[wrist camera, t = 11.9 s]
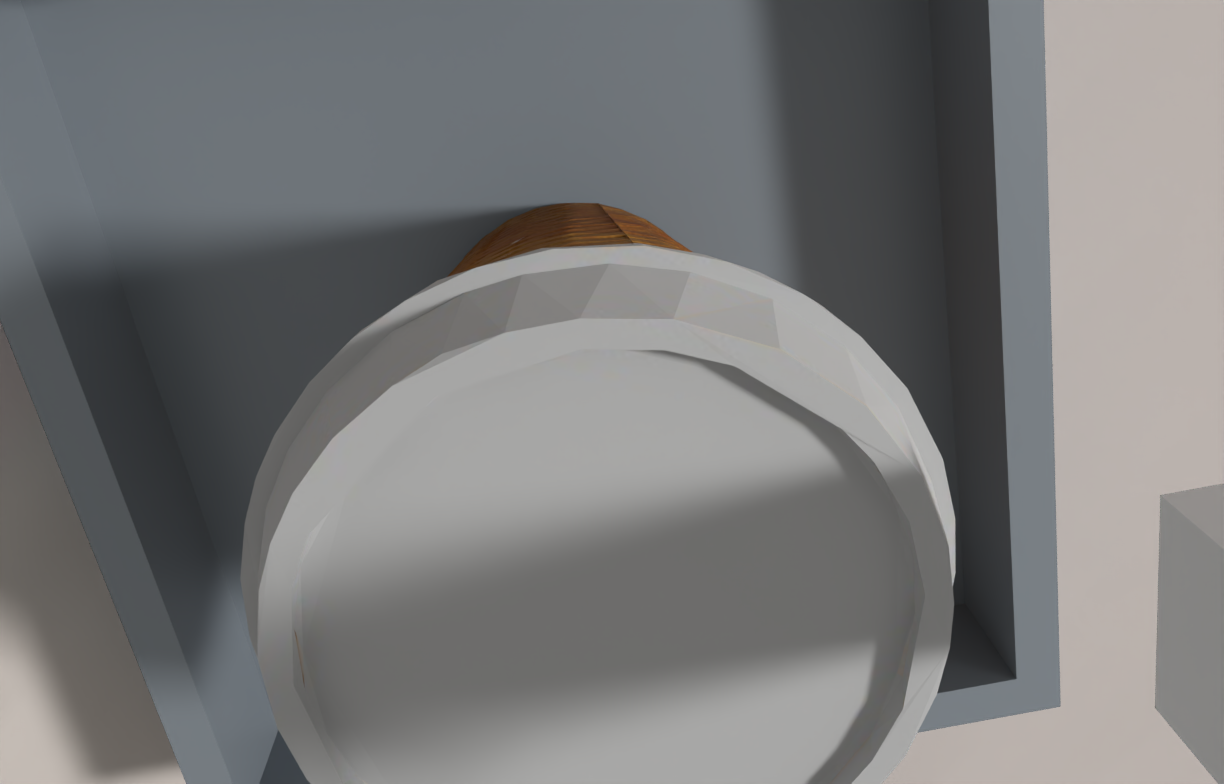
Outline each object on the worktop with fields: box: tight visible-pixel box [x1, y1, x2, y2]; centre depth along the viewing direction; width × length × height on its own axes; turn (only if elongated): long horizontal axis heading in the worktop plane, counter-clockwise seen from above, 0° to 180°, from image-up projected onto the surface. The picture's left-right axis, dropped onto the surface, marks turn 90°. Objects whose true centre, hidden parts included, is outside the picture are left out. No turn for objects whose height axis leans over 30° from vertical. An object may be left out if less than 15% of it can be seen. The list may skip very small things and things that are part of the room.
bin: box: [0, 0, 1060, 784], centre depth 23 cm, size 20×20×4 cm
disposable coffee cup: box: [240, 203, 956, 784], centre depth 19 cm, size 10×10×12 cm
